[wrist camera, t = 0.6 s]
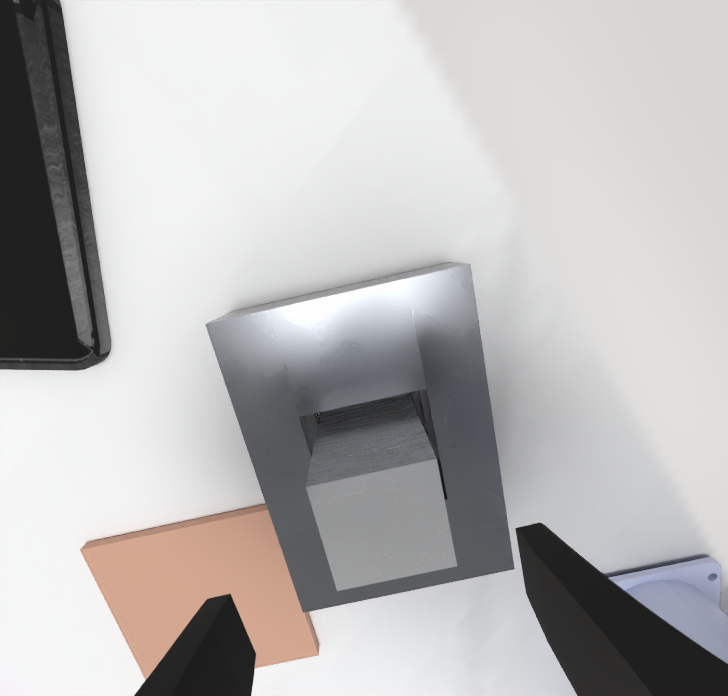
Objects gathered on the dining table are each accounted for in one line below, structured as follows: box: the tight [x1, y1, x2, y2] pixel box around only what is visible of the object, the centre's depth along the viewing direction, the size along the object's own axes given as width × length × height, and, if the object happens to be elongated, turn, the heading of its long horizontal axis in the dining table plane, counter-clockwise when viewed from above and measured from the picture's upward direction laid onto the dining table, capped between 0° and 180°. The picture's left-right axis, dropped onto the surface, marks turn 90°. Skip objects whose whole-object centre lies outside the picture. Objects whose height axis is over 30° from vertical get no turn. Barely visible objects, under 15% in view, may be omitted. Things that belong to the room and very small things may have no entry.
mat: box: [80, 504, 319, 679], centre depth 20 cm, size 10×10×1 cm
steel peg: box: [306, 393, 457, 591], centre depth 15 cm, size 4×4×7 cm
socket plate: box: [206, 262, 514, 613], centre depth 17 cm, size 14×10×3 cm
